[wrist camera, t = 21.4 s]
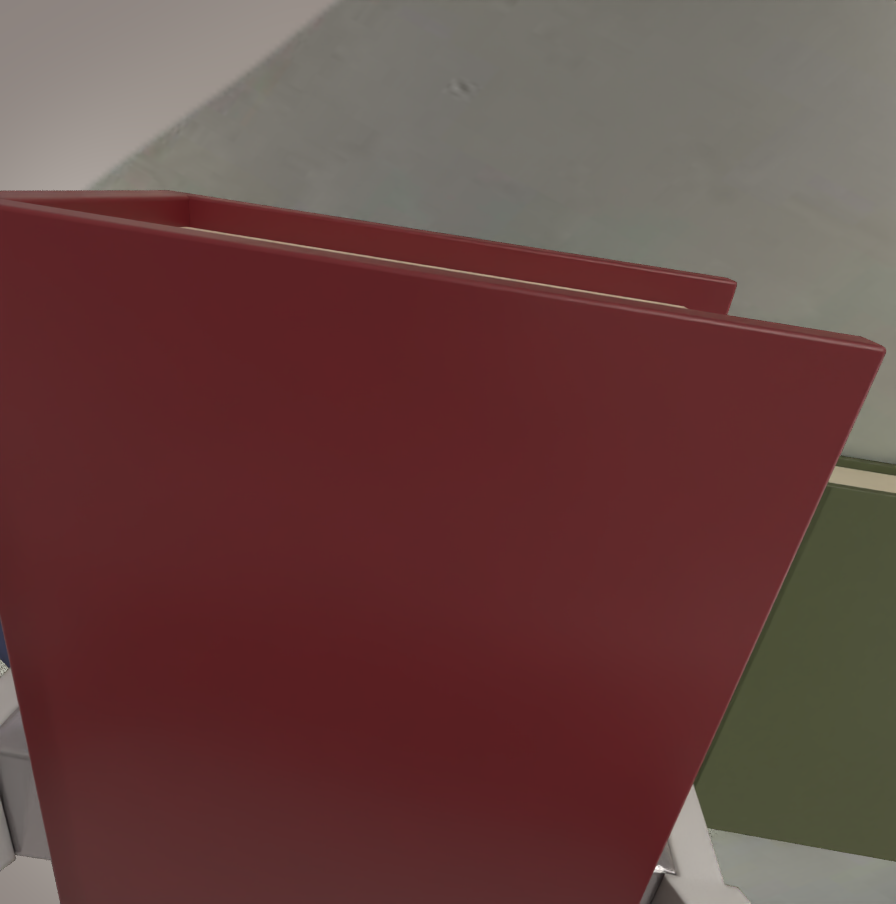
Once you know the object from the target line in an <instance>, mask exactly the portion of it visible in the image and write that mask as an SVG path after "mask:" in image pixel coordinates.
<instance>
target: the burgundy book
mask: <svg viewBox="0 0 896 904" xmlns="http://www.w3.org/2000/svg"><path fill="white" fill-rule="evenodd" d="M736 287H737V282H735V281H733V280H731V279H729V278H725V277H718V276H712V275H706V274H699V273H693V272H686V271H680V270H674V269H667V268H661V267H655V266H648V265H642V264H635V263H629V262H623V261H616V260H610V259H604V258H597V257H591V256H584V255H578V254H572V253H565V252H559V251H553V250H546V249H540V248H533V247H527V246H521V245H514V244H508V243H502V242H495V241H489V240H482V239H476V238H470V237H463V236H457V235H451V234H444V233H438V232H431V231H425V230H419V229H412V228H406V227H400V226H393V225H387V224H380V223H374V222H368V221H361V220H355V219H349V218H342V217H336V216H330V215H323V214H317V213H310V212H304V211H298V210H291V209H285V208H279V207H272V206H266V205H259V204H253V203H247V202H240V201H234V200H228V199H221V198H215V197H208V196H202V195H196V194H189V193H183V192H177V191H170V190H149V191H0V620H1V625H2V630H3V634H4V639H5V644H6V649H7V653H8V658H9V663H10V668H11V672H12V677H13V682H14V687H15V691H16V696H17V701H18V706H19V710H20V715H21V720H22V724H23V729H24V734H25V739H26V743H27V748H28V753H29V758H30V762H31V767H32V772H33V777H34V781H35V786H36V791H37V796H38V800H39V805H40V810H41V814H42V819H43V824H44V829H45V833H46V838H47V843H48V848H49V852H50V857H51V862H52V866H53V871H54V876H55V881H56V885H57V890H58V894H59V899H60V904H639V903H640V901H641V899H642V897H643V894H644V892H645V890H646V888H647V885H648V883H649V881H650V879H651V876H652V874H653V872H654V870H655V868H656V865H657V863H658V861H659V859H660V856H661V854H662V852H663V850H664V847H665V845H666V843H667V841H668V838H669V836H670V834H671V832H672V830H673V827H674V825H675V823H676V821H677V818H678V816H679V814H680V812H681V809H682V807H683V805H684V803H685V801H686V798H687V796H688V794H689V792H690V789H691V787H692V785H693V783H694V780H695V778H696V776H697V774H698V772H699V769H700V767H701V765H702V763H703V760H704V758H705V756H706V754H707V751H708V749H709V747H710V745H711V742H712V740H713V738H714V736H715V734H716V731H717V729H718V727H719V725H720V722H721V720H722V718H723V716H724V713H725V711H726V709H727V707H728V705H729V702H730V700H731V698H732V696H733V693H734V691H735V689H736V687H737V684H738V682H739V680H740V678H741V675H742V673H743V671H744V669H745V667H746V664H747V662H748V660H749V658H750V655H751V653H752V651H753V649H754V646H755V644H756V642H757V640H758V638H759V635H760V633H761V631H762V629H763V626H764V624H765V622H766V620H767V617H768V615H769V613H770V611H771V608H772V606H773V604H774V602H775V600H776V597H777V595H778V593H779V591H780V588H781V586H782V584H783V582H784V579H785V577H786V575H787V573H788V571H789V568H790V566H791V564H792V562H793V559H794V557H795V555H796V553H797V550H798V548H799V546H800V544H801V542H802V539H803V537H804V535H805V533H806V530H807V528H808V526H809V524H810V521H811V519H812V517H813V515H814V512H815V510H816V508H817V506H818V504H819V501H820V499H821V497H822V495H823V492H824V490H825V488H826V486H827V483H828V481H829V479H830V477H831V475H832V472H833V470H834V468H835V466H836V463H837V461H838V459H839V457H840V454H841V452H842V450H843V448H844V445H845V443H846V441H847V439H848V437H849V434H850V432H851V430H852V428H853V425H854V423H855V421H856V419H857V416H858V414H859V412H860V410H861V408H862V405H863V403H864V401H865V399H866V396H867V394H868V392H869V390H870V387H871V385H872V383H873V381H874V378H875V376H876V374H877V372H878V370H879V367H880V365H881V363H882V361H883V358H884V356H885V354H886V349H885V347H883V346H882V345H879V344H877V343H875V342H873V341H870V340H868V339H866V338H864V337H861V336H854V335H848V334H842V333H836V332H829V331H823V330H817V329H811V328H804V327H798V326H792V325H786V324H779V323H773V322H767V321H761V320H754V319H748V318H742V317H736V316H729V315H727V314H728V311H729V308H730V305H731V302H732V299H733V296H734V293H735V290H736Z"/></svg>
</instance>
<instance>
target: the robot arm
mask: <svg viewBox="0 0 896 904" xmlns="http://www.w3.org/2000/svg"><path fill="white" fill-rule="evenodd" d="M15 855H20V856H27V857H32V858H40V859H46V860H51V857H50V852H49V848H48V843H47V838H46V833H45V829H44V824H43V819H42V814H41V810H40V805H39V800H38V796H37V791H36V786H35V781H34V777H33V772H32V767H31V762H30V758H29V753H28V748H27V743H26V739H25V734H24V729H23V724H22V720H21V715H20V710H19V706H18V701H17V696H16V691H15V687H14V682H13V677H12V672H11V668H9V669H8V670H7V671H6V672H5V673H4V674H3V675H2V676H1V677H0V871H1V870H2V869H4V868H5V867H6V866H8V865H9V864H11V863H12V862H13V861H15V859H16V857H15ZM639 904H752V903H751V902H750V901H749V900H748V898H747V897H746V896H745V895H744V894H743V893H742V891H741V890H740V889H739V888H738V887H735V886H730V885H726V884H725V882H724V879H723V876H722V873H721V870H720V867H719V863H718V860H717V857H716V854H715V851H714V848H713V845H712V841H711V838H710V835H709V832H708V829H707V826H706V822H705V819H704V816H703V813H702V810H701V807H700V804H699V800H698V797H697V794H696V791H695V788H694V785H692V787H691V789H690V792H689V794H688V796H687V798H686V801H685V803H684V805H683V807H682V809H681V812H680V814H679V816H678V818H677V821H676V823H675V825H674V827H673V830H672V832H671V834H670V836H669V838H668V841H667V843H666V845H665V847H664V850H663V852H662V854H661V856H660V859H659V861H658V863H657V865H656V868H655V870H654V872H653V874H652V876H651V879H650V881H649V883H648V885H647V888H646V890H645V892H644V894H643V897H642V899H641V901H640V903H639Z"/></svg>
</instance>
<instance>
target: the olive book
mask: <svg viewBox="0 0 896 904" xmlns="http://www.w3.org/2000/svg"><path fill="white" fill-rule="evenodd" d="M693 785H694V788H695V791H696V794H697V797H698V800H699V804H700V807H701V810H702V813H703V816H704V819H705V822H706V826H707V828H711V829H716V830H722V831H728V832H733V833H739V834H744V835H750V836H756V837H761V838H767V839H772V840H778V841H784V842H789V843H795V844H800V845H806V846H811V847H817V848H823V849H828V850H834V851H839V852H845V853H851V854H856V855H862V856H867V857H873V858H879V859H884V860H890V861H895V862H896V465H895V464H889V463H882V462H876V461H870V460H864V459H858V458H851V457H845V456H840V457H839V459H838V461H837V463H836V466H835V468H834V470H833V472H832V475H831V477H830V479H829V481H828V483H827V486H826V488H825V490H824V492H823V495H822V497H821V499H820V501H819V504H818V506H817V508H816V510H815V512H814V515H813V517H812V519H811V521H810V524H809V526H808V528H807V530H806V533H805V535H804V537H803V539H802V542H801V544H800V546H799V548H798V550H797V553H796V555H795V557H794V559H793V562H792V564H791V566H790V568H789V571H788V573H787V575H786V577H785V579H784V582H783V584H782V586H781V588H780V591H779V593H778V595H777V597H776V600H775V602H774V604H773V606H772V608H771V611H770V613H769V615H768V617H767V620H766V622H765V624H764V626H763V629H762V631H761V633H760V635H759V638H758V640H757V642H756V644H755V646H754V649H753V651H752V653H751V655H750V658H749V660H748V662H747V664H746V667H745V669H744V671H743V673H742V675H741V678H740V680H739V682H738V684H737V687H736V689H735V691H734V693H733V696H732V698H731V700H730V702H729V705H728V707H727V709H726V711H725V713H724V716H723V718H722V720H721V722H720V725H719V727H718V729H717V731H716V734H715V736H714V738H713V740H712V742H711V745H710V747H709V749H708V751H707V754H706V756H705V758H704V760H703V763H702V765H701V767H700V769H699V772H698V774H697V776H696V778H695V780H694V783H693Z"/></svg>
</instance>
